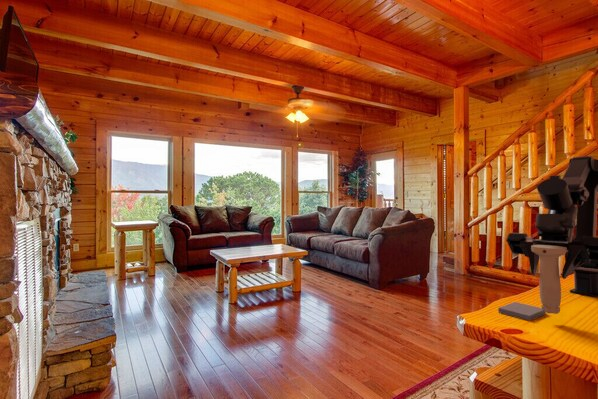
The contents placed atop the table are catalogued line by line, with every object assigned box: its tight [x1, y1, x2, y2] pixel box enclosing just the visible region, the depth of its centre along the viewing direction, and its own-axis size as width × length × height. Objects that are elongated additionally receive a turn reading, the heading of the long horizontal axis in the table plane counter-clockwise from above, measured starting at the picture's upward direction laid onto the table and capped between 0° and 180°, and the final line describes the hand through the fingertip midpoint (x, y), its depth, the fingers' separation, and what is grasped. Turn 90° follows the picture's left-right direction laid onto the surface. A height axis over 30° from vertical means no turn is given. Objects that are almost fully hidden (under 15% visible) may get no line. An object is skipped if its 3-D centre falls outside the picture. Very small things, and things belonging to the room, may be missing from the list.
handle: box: [531, 245, 567, 315], centre depth 75 cm, size 5×6×15 cm
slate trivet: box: [497, 301, 547, 322], centre depth 81 cm, size 8×7×1 cm
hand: (547, 275), depth 74 cm, fingers closed on handle, 5 cm apart
